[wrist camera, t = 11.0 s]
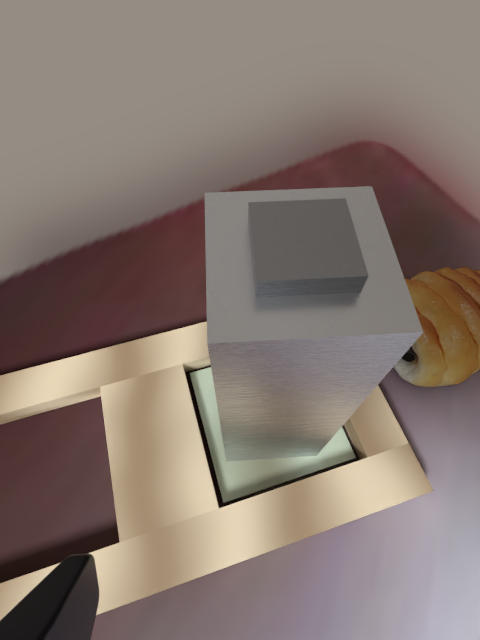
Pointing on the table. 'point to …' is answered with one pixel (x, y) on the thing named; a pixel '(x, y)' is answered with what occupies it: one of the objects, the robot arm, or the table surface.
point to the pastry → (444, 328)
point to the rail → (202, 468)
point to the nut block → (299, 314)
